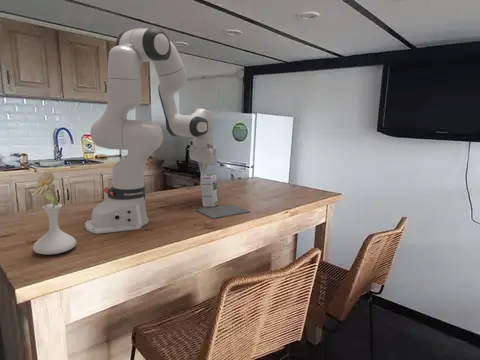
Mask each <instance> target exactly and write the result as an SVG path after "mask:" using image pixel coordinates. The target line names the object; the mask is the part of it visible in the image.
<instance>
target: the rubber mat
mask: <svg viewBox="0 0 480 360" xmlns="http://www.w3.org/2000/svg"><path fill="white" fill-rule="evenodd" d="M195 211H196V212H197V213H200V214H201V215H204V216H205V217H206V218H207V217H208V218H210V219H211V220H216V219H221V218H222V219H223V218H226V217H232V216H233V217H234V216H237V215H242V214H243V215H244V214H250V213H251V210H248V209H245V208H244V207H241V206H238V205H236V204H233V203H231V204H223V205H216V206H214V207H204V208H198V209H197V208H196V209H195Z"/></svg>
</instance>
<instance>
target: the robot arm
mask: <svg viewBox="0 0 480 360" xmlns="http://www.w3.org/2000/svg"><path fill="white" fill-rule="evenodd" d="M107 59H108V60H107V61H108V62H107V86H108V87H107V88H108V91H107V92H108V94H107V95H108V96H107V105H106V108H105V111H104V112H103V114H102V115H101V116H100V117H99V118H98V119H97V120H96V121H94V122H93V124H92V125H91V128H90V138H91V140H92V143H94V145H95V146H97V147H99V148H103V149H107V150H122V151H123V150H125V151H127V155H126V157H125V158H123V159H120V160H118V161H116V162H115V163H114V165H113V167H112V172H111V173H112V187H110V188H109V187H107V186H106V187H104V188H103V192H104V193H105V194H107V197H106V198H105V199H104V200H103V201H101V202H100V203H98V205H96V206H95V207H94V208H93V210H92V212H91V219H89V220H86V221H85V223H84V228H85V229H86V230H87V231H88V232H89V233H92V234H95V235H96V234H105V233H106V234H107V233H116V232H118V233H119V232H126V231H134V230H136V231H137V230H141V229H142V227H143V226H145V225H147V224H148V223H149V217H148V214H147V209H146V201H145V200H146V186H145V167H146V164H147V161H148V159H149V157H150V156H151V155H152V154H153V153H154V152H155V151H156V150H157V149H159V148H160V147H161V145H162V143H163V141H164V133H163V129H162V128H161V125H159V124H158V123H157V122H152V121H149V120H144V119H143V120H142V119H141V120H138V119H128V113H129V112H131V111H132V110H134V109H137V108H138V107H140V106H141V104H142V101H143V95H142V94H143V93H142V74H141V72H142V71H141V67H142V63H145V62H146V63H147V62H149V63H150V62H152V64H153V66H154V69H155V72H156V74H157V78H158V82H159V84H158V87H157V88H158V90H157V91H158V96H159V100H160V104H161V107H162V110H163V114H164V119H165V125H166V126H165V127H166V130H167V132H168V134H170V136H172V137H185V138H193V139H192V140H189V141H188V143H189V144H188V145H189V159H190V160H191V161H195V162H197V163H198V167H199V172H202V173H206V172H207V168H208V166H217V164H218V152H217V148H216V146H215V145H214V135H213V129H214V115H213V112H212V110H210V109H209V108H203V107H198V108H196V109H195V111H194V112H193V113H191V114H186V115H185V114H181V113H179V111H178V110H177V106H176V101H175V94H176V93H178V92H179V91H181V90H182V89H183V88H184V87H185V85H186V84H187V81H188V78H187V77H188V76H187V71H186V69H185V66H184V62H183V60H182V58H181V56H180V54H179V51H178V50H177V48H176V46H175V44H174V43H173V42H172V41H171V40H170V38H169V36H168V35H167V34H166V33H165V32H164V31H163V30H161V29H160V28H156V27H150V28H143V27H138V28H133V29H127V30H124V31H122V32H120V33H119V35H118V36H117V38H116V42H115V46H113V47H112V48H111V49H110V50H109V52H108V58H107Z"/></svg>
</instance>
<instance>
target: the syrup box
mask: <svg viewBox="0 0 480 360" xmlns="http://www.w3.org/2000/svg"><path fill="white" fill-rule="evenodd" d="M217 181H218V180H217V174H216V173H215V174H213V173H210V174H204V175H201V176H200V188H201V199H202V206H203V207H204V208H209V207H216V206H218V205H219V196H218V194H219V191H218V182H217Z"/></svg>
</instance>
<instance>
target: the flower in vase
mask: <svg viewBox="0 0 480 360" xmlns="http://www.w3.org/2000/svg"><path fill="white" fill-rule="evenodd" d="M55 178H56V176H55V172H53V170H52V169H49V170H47V169H46V170H45V171H44V172H43V173H42V174H40V175H39V176H38V179H37V183H36V184H35V185H34V188H35V190H34V195H36V196H37V198H38V197H42V196H45V199H46V200H48V201H50V202H52V203H49V204H45V205H43V206H42V209H43V210H44V211H45V212H46V215H47V216H48V223H49V225H48V226H49V228H48V231H47V232H46V233H45V234H44V235H42V236H41V237H40V238H39V239H37V240H36V241H35V243H34V244H33V245H32V250H33V252H35V253H36V254H39V255H40V254H41V255H57V254H61V253H62V254H63V253H65V252H67V251H70V250H72V249H74V247H75V246H76V245H77V240H76V238H75V237H73V236H72V235H70V234H69V233H66V232H64V231H63V230H61V229H60V226H59V214H60V210H61V209H62V207H63V204H61V203H59V202H58V200H59V196H56V193H55V190H54V189H53V187H52V186H53V185H54V181H55ZM50 190H51V192H52V194H53V196H54V197H53V196H52V195H51V194H50V193H49V191H50Z"/></svg>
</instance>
